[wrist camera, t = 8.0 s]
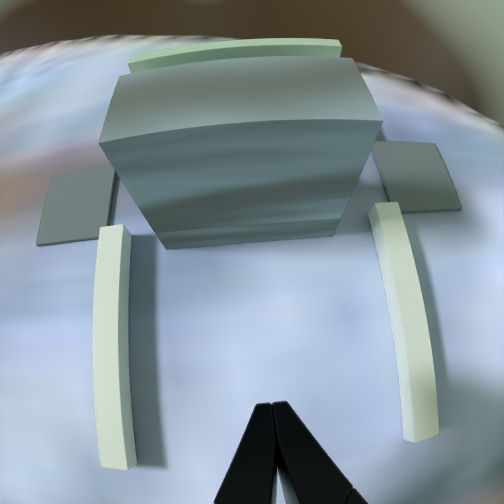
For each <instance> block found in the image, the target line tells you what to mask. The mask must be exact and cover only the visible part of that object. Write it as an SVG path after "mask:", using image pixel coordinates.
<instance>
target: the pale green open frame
mask: <svg viewBox="0 0 504 504" xmlns="http://www.w3.org/2000/svg"><path fill="white" fill-rule="evenodd" d="M341 48H342V46H341V44H340V42H339V41H338V40H331V39H308V38H304V39H303V38H277V39H276V38H274V39H273V38H272V39H248V40H234V41H223V42H213V43H204V44H196V45H189V46H182V47H176V48H170V49H164V50H159V51H154V52H149V53H144V54H139V55H135V56H131V57H130V59H129V62H128V65H129V68H130V71H131V74H132V73H137V72H142V71H147V70H152V69H157V68H163V67H169V66H175V65H181V64H188V63H195V62H204V61H212V60H222V59H234V58H248V57H270V56H318V57H340V53H341ZM368 217H369V221H370V225H371V229H372V233H373V237H374V241H375V245H376V250H377V254H378V258H379V263H380V268H381V272H382V277H383V282H384V287H385V292H386V298H387V303H388V309H389V314H390V320H391V327H392V333H393V340H394V347H395V354H396V361H397V370H398V378H399V388H400V398H401V410H402V424H403V439H405V440H408V441H410V442H413V443H416V442H419V441H422V440H425V439H428V438H431V437H434V436H437V435H439V421H438V405H437V392H436V382H435V373H434V364H433V356H432V349H431V342H430V336H429V330H428V324H427V318H426V313H425V307H424V302H423V297H422V292H421V288H420V283H419V279H418V274H417V270H416V266H415V262H414V258H413V254H412V250H411V246H410V242H409V238H408V235H407V231H406V228H405V224H404V221H403V217H402V214H401V211H400V207H399V204H398V202H384V203H375V204H374V205H373V207H372V209H371V210H370V212H369V214H368ZM131 240H132V234H131V233H130V232H129V231H128V229H127V228H126V227H125V226H124V224H121V225H113V226H105V227H100V232H99V241H98V250H97V260H96V272H95V286H94V304H93V385H94V403H95V416H96V427H97V437H98V445H99V453H100V461H101V467H107V468H114V469H121V470H129V469H131V468H132V467H134V466H135V465H137V456H136V448H135V439H134V430H133V419H132V407H131V392H130V373H129V336H128V312H129V275H130V255H131Z"/></svg>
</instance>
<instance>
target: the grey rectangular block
mask: <svg viewBox="0 0 504 504" xmlns="http://www.w3.org/2000/svg"><path fill="white" fill-rule="evenodd" d="M382 123H383V119H382V117H381V114H380V112H379V110H378V108H377V106H376V104H375V102H374V100H373V97H372V95H371V93H370V91H369V89H368V87H367V85H366V83H365V81H364V79H363V78H362V76H361V74H360V72H359V70H358V68H357V66H356V64H355V62H354V61H353V59H352V58H340V57H318V56H270V57H248V58H234V59H222V60H212V61H204V62H195V63H188V64H181V65H175V66H169V67H163V68H157V69H152V70H147V71H142V72H137V73H132V74H128V75H123V76H119V79H118V82H117V84H116V87H115V90H114V93H113V96H112V99H111V102H110V105H109V109H108V112H107V115H106V118H105V122H104V125H103V129H102V132H101V136H100V140H99V145H100V146H101V148H102V150H103V151H104V153H105V155H106V156H107V158H108V160H109V161H110V163H111V165H112V166H113V168H114V170H115V171H116V173H117V174H118V176H119V178H120V179H121V181H122V183H123V184H124V186H125V187H126V189H127V191H128V192H129V194H130V195H131V197H132V198H133V200H134V202H135V203H136V205H137V206H138V208H139V209H140V211H141V212H142V214H143V215H144V217H145V219H146V220H147V222H148V223H149V225H150V226H151V228H152V229H153V231H154V232H155V234H156V235H157V237H158V238H159V240H160V241H161V243H162V244H163V245H164V247H165V248H166V250H168V249H180V248H192V247H204V246H216V245H228V244H241V243H253V242H266V241H278V240H291V239H304V238H317V237H331V236H333V233H334V231H335V229H336V227H337V225H338V223H339V221H340V219H341V217H342V214H343V212H344V210H345V208H346V206H347V204H348V201H349V199H350V197H351V195H352V193H353V190H354V188H355V186H356V184H357V182H358V179H359V177H360V175H361V172H362V170H363V168H364V166H365V163H366V161H367V159H368V156H369V154H370V152H371V149H372V147H373V145H374V142H375V140H376V137H377V135H378V133H379V130H380V128H381V125H382Z"/></svg>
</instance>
